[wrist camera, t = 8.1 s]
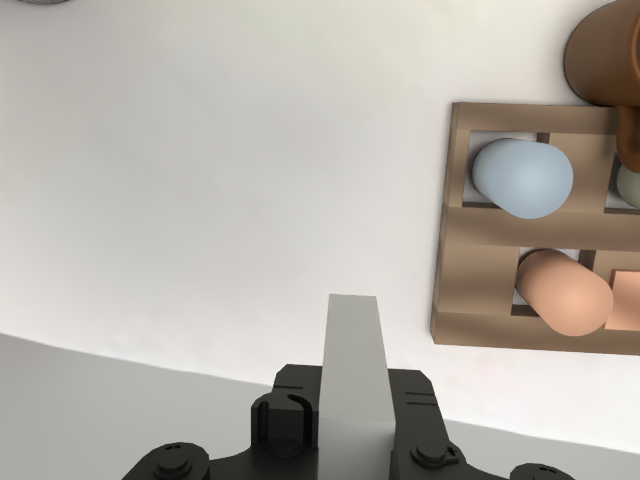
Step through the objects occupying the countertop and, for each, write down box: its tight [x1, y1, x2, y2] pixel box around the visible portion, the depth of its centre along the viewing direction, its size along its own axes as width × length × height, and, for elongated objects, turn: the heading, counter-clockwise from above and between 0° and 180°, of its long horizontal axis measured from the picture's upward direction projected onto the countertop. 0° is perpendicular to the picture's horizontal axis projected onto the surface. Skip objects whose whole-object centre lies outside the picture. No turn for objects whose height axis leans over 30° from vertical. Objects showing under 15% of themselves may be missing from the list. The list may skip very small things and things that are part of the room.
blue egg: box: [472, 138, 573, 219], centre depth 35 cm, size 5×5×6 cm
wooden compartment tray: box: [430, 102, 640, 356], centre depth 40 cm, size 20×20×3 cm
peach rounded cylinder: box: [515, 249, 614, 336], centre depth 38 cm, size 5×5×6 cm
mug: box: [565, 0, 640, 174], centre depth 34 cm, size 12×8×9 cm, turn 176°
